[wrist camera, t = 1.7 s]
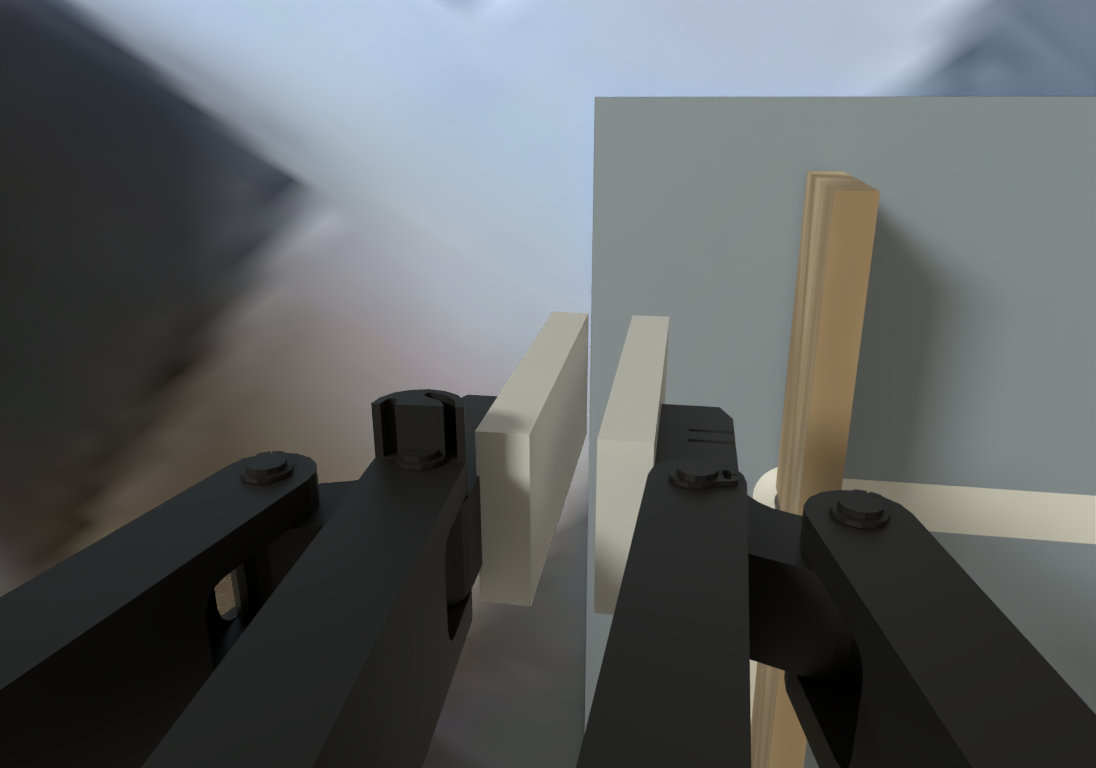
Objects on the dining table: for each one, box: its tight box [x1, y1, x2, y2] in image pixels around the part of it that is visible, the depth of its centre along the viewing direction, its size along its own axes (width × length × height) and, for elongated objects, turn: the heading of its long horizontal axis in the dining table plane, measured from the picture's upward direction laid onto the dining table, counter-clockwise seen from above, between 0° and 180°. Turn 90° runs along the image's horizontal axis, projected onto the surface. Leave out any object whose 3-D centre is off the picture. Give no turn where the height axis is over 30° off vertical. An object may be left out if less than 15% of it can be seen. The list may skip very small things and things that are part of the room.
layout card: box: [585, 97, 1096, 768], centre depth 33 cm, size 22×31×1 cm
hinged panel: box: [774, 171, 880, 516], centre depth 27 cm, size 1×13×7 cm, turn 0°
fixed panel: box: [751, 662, 807, 768], centre depth 32 cm, size 1×12×6 cm, turn 179°
